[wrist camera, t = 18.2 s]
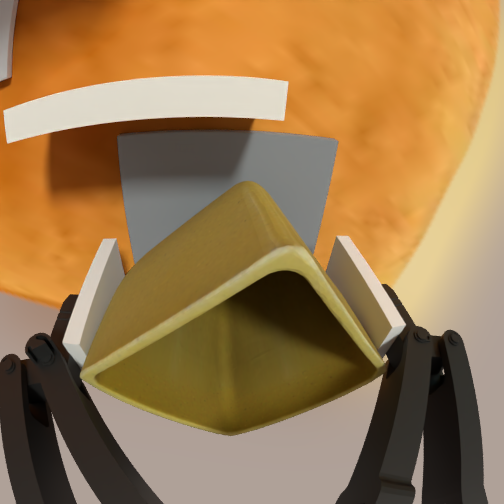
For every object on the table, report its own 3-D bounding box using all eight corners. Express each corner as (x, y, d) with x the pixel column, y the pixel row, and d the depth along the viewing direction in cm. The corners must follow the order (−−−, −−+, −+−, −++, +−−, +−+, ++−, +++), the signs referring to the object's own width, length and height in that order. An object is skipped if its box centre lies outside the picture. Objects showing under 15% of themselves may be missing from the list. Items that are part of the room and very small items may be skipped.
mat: (144, 295, 20) (143, 301, 19) (120, 133, 13) (117, 136, 12) (299, 291, 22) (301, 296, 21) (334, 138, 15) (338, 141, 14)
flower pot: (118, 236, 15) (73, 381, 7) (243, 133, 12) (298, 242, 5) (217, 314, 19) (229, 438, 12) (326, 248, 17) (390, 372, 10)
